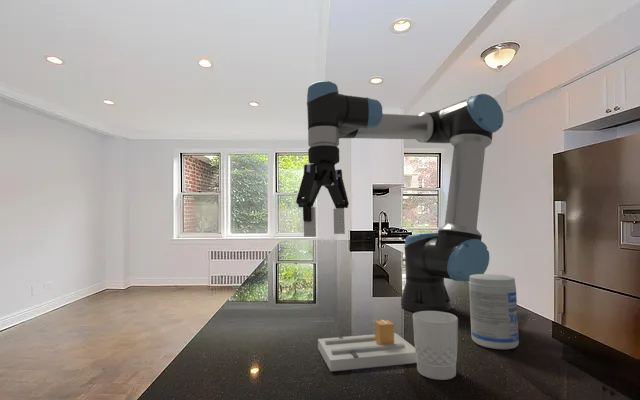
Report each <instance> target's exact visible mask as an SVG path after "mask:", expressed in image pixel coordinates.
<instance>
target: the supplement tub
mask: <svg viewBox="0 0 640 400" xmlns="http://www.w3.org/2000/svg"><path fill="white" fill-rule="evenodd" d="M516 285H517V284H516V280H515V278H514V276H511V275H504V274H494V273H493V274H492V273H491V274H490V273H484V274H475V275H470V281H469V282H468V287H469V289H468V290H469V291H468V293H469V310H470V313H469V314H470V332H471V333H470V334H471V339H472V341H473V342H474V343H475V344H477V345H479V346H481V347H483V348H488V349H495V350H511V349H515V348H517V347H518V346H519V344H520V341H519V340H520V338H519V337H520V336H519V323H518V322H519V319H518V318H519V316H518V303H517V302H518V301H517V287H516Z"/></svg>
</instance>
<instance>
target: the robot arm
mask: <svg viewBox="0 0 640 400" xmlns="http://www.w3.org/2000/svg"><path fill="white" fill-rule="evenodd" d="M306 94H307V95H306V107H307V131H308V133H307V134H308V135H307V136H308V137H307V141H308V143H307V144H308V147H309V148H308V151H307V152H308V153H307V155H308V163H306V164H304V165H303V176H302V178H301V179H302V180H301V183H300V185H299V190H298V193H297V197H296V201H295V202H296V204H297V205H298V208H302V220H303V237H305V238H306V237H310V238H315V237H317V225H316V224H317V223H316V219H317V217H316V207H315V206H314V203H315V202H316V200H317V197H318V195H319V193H320V191H321V188H322V187H324V188H325V189H326V190H327V191H328V193H329V196H330V197H331V200H332V203H333V204H334V208H333V210H332V211H333V234H334V235H344V234H346V229H345V225H346V224H345V209H347V208H349V198H348V195H347V192H346V187H345V183H344V179H343V171H342V169H336V166H335V165H336V164H337V165H338V164H339V162H340V148H339V147H338V146H340V139H371V140H372V139H375V140H376V139H378V140H380V139H381V140H382V139H383V140H416V141H417V142H418V143H422V144H423V143H426V144H427V143H428V144H429V143H430V144H451V145H452V147H453V153H452V160H451V169H450V177H449V186H448V192H447V201H446V203H447V204H446V211H445V219H444V225H443V226H441V227H440V228H438V231H437V232H429V233H417V234H411V235H407V236H406V237H405V239H404V247H403V248H404V260H405V263H404V264H405V285H404V288H403V290H402V294H401V297H400V306H402V307H403V308H402V307H401V308H402V309H404V310H406V309H407V310H406V311H410V312H414V313H416V312H420V311H440V312H446V313H448V312H449V311H451V309H452V301H451V298H450V296H449V293H448V290H447V287H446V285H445V279H448V280H452V281H454V282H465V283H469V281H470V275H475V274H486V273H485V272H487V270H488V266H489V264H490V251H489V250H488V247H487V245H486V244H485V242H483V241H482V239H483V237H482V233H481V232H480V231H479V230H478V229H477V227H478V221H479V220H478V219H479V217H478V216H479V211H480V208H479V207H480V201H481V199H480V198H481V191H482V181H483V172H484V162H485V155H486V148H487V147H489V146H490V145H492V142H493V134H494V133H496V132H498V131H500V129H501V128H502V127H503V125H504V113H503V110H502V107H501V105H500V104H499V102H498V101H497V99H495V97H493V96H491V95H489V94H487V93H480V94H479V93H478V94H476V95H474V96H473V95H471V96H470V97H468V98H466V99H463V100H461V101H458V102H456V103H454V104H452V105H449V106H446V107H444V108H442V109H439V110H435V111H431V112H421V113H418V115H417V114H416V115H415V114H397V113H396V114H394V113H383V105H382V103H381V102H380V101H379V100H377V99H374V98H371V97H362V96H355V95H346V94H343V93H342V94H341V93H339V88H338V85H337V84H336V83H334V82H333V81H329V80H328V81H327V80H320V81H316V82H313V83H311V84H309V87H308V88H307V93H306Z"/></svg>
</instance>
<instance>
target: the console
mask: <svg viewBox="0 0 640 400" xmlns="http://www.w3.org/2000/svg"><path fill="white" fill-rule="evenodd" d="M317 349H318V351H319V353H320V355H321V356H322V359H323V360H324V362H325V365H326V366H327V367H328V369H329V371H330V372H338V371H349V370H359V369H370V368H378V367H379V368H380V367H388V366H397V365H398V366H400V365H407V364H408V365H409V364H417V356H416V353H415V346H414V345H412V344H411V343H410V342H408V341H407V340H406V339H404V338H403V337H402V336H400V335H399V334H398V333H396V332H394V344H387V345H380V344H379V343H378V342H377V341H375V333H374V334H362V335H353V336H351V335H350V336H337V337H327V338H326V337H325V338H318V339H317Z"/></svg>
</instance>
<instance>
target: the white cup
mask: <svg viewBox="0 0 640 400" xmlns="http://www.w3.org/2000/svg"><path fill="white" fill-rule="evenodd" d="M412 323H413V325H412V327H413V337H414V338H413V340H414V342H413V343H414V347H415V353H416V356H417V363H416V371H417V372H418V374H419V375H422V376H423V377H424V378H428V379H432V380H439V381H446V380H451V379H454V378H455V377H456V376H457V360H458V341H459V340H458V338H459V337H458V335H459V334H458V333H459V331H458V329H459V319H458V316H456V315H455V314H452V313H450V312H440V311H420V312H414V313H413V314H412Z"/></svg>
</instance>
